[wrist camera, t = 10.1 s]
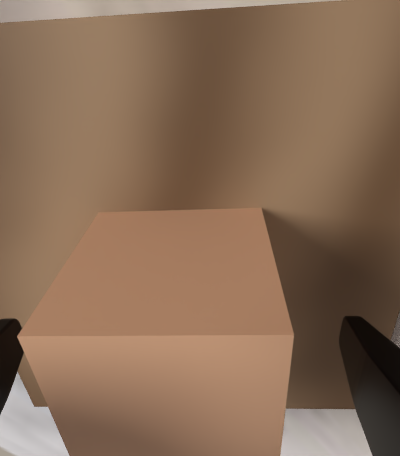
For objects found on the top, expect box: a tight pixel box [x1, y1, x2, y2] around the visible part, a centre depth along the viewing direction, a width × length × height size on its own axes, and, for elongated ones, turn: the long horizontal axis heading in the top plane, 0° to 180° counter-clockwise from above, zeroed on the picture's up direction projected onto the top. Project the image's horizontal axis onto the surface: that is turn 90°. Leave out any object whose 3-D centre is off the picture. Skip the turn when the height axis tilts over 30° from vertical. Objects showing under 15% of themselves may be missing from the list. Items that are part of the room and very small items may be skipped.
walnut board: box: [0, 0, 400, 409], centre depth 12 cm, size 15×15×1 cm
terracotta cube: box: [17, 208, 294, 456], centre depth 10 cm, size 5×5×5 cm
